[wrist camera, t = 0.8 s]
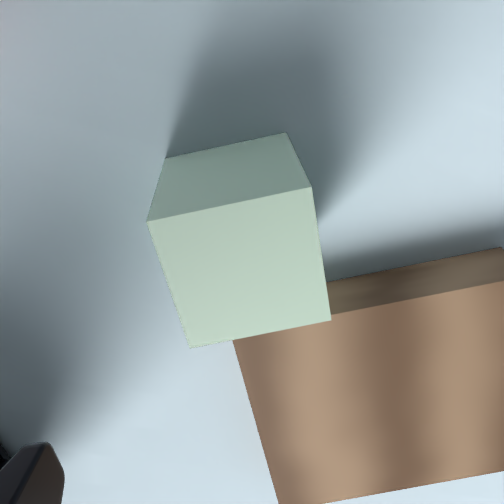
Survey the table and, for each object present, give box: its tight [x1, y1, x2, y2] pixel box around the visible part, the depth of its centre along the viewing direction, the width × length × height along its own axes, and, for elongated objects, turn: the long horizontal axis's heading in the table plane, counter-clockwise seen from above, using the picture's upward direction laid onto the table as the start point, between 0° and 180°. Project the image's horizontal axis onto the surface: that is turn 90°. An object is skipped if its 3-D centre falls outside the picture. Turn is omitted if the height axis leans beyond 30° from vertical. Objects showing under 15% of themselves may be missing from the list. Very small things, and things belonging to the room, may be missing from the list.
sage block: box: [146, 132, 331, 348], centre depth 18 cm, size 5×5×6 cm
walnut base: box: [233, 247, 504, 504], centre depth 25 cm, size 13×13×3 cm
